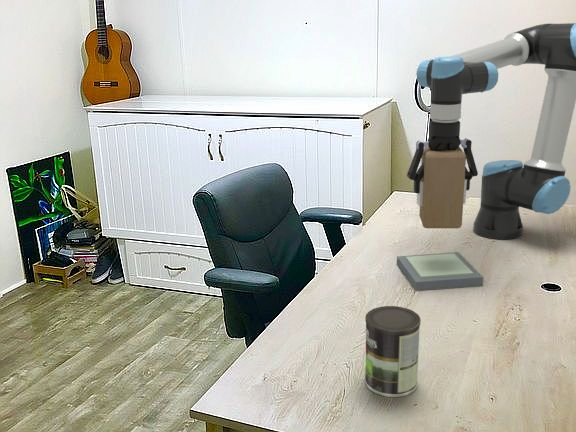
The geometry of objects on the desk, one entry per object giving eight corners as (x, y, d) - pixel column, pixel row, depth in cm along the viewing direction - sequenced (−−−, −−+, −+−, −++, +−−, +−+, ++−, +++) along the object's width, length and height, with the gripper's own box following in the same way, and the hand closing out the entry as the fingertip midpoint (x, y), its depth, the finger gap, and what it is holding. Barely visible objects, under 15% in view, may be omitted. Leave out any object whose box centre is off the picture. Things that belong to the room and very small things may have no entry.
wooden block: (456, 217, 171) (460, 145, 165) (462, 229, 162) (466, 153, 156) (418, 217, 172) (421, 145, 166) (422, 229, 163) (425, 153, 157)
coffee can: (370, 399, 118) (371, 332, 114) (360, 370, 128) (360, 307, 123) (424, 395, 119) (427, 328, 114) (410, 366, 128) (412, 303, 124)
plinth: (457, 260, 181) (458, 250, 180) (482, 285, 164) (483, 275, 163) (396, 264, 180) (396, 254, 179) (415, 290, 163) (415, 280, 162)
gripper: (483, 115, 163) (478, 197, 170) (395, 119, 161) (393, 202, 168) (495, 120, 156) (489, 205, 163) (404, 124, 154) (401, 210, 161)
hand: (440, 203), depth 166 cm, fingers closed on wooden block, 11 cm apart
